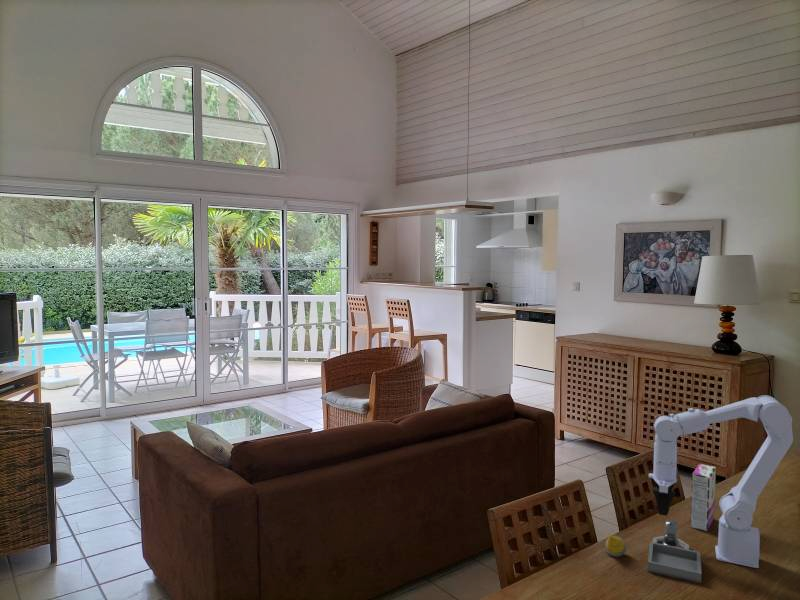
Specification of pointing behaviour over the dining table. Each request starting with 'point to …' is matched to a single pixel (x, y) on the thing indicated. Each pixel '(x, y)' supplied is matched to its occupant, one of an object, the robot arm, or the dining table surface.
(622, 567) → the dining table surface
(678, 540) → the seat ring
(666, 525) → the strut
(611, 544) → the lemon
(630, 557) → the dining table surface
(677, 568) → the tray
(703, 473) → the candy bar box
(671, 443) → the robot arm
